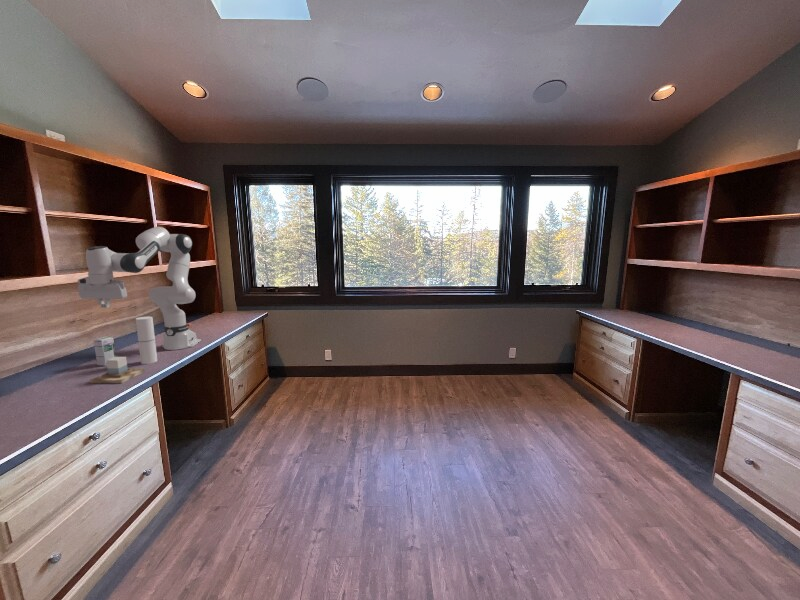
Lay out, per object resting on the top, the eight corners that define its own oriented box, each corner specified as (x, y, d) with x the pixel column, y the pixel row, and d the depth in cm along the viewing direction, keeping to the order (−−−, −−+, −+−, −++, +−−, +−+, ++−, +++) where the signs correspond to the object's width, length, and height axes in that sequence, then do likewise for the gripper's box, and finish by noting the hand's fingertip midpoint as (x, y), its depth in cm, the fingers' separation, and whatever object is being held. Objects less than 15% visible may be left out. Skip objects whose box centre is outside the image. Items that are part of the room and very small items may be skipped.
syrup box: (105, 366, 165) (101, 339, 163) (96, 365, 166) (93, 339, 164) (117, 362, 171) (113, 336, 169) (108, 361, 172) (105, 336, 170)
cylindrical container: (137, 364, 169) (131, 319, 165) (147, 359, 176) (142, 316, 172) (150, 364, 169) (145, 319, 165) (160, 359, 176) (155, 316, 172)
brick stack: (117, 372, 154) (115, 356, 153) (128, 372, 154) (126, 356, 153) (108, 376, 149) (106, 360, 148) (119, 376, 149) (117, 360, 148)
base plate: (116, 371, 158) (115, 366, 158) (144, 371, 159) (144, 366, 159) (90, 383, 145) (89, 377, 144) (121, 383, 145) (120, 377, 145)
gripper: (128, 279, 155) (132, 306, 158) (86, 278, 154) (90, 306, 157) (118, 280, 149) (121, 308, 151) (73, 280, 148) (78, 308, 150)
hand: (105, 307), depth 154 cm, fingers closed
